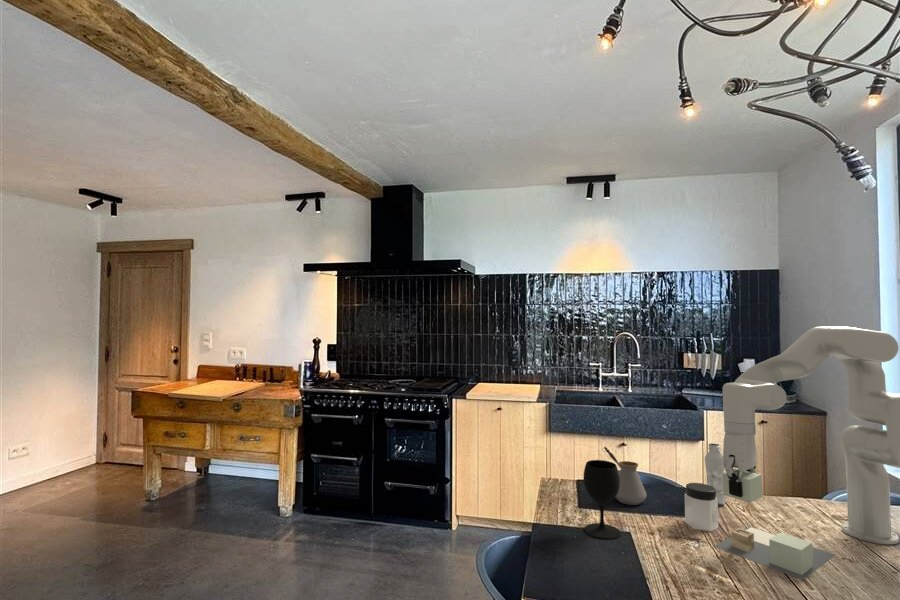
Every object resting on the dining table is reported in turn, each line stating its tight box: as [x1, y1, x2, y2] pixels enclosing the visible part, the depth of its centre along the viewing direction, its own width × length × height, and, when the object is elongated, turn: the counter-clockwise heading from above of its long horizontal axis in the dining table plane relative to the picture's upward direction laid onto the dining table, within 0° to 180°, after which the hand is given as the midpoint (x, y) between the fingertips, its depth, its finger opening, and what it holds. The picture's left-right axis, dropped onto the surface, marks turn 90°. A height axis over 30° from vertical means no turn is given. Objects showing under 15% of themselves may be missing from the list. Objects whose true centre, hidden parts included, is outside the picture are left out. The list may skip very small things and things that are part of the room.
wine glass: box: [583, 459, 621, 540], centre depth 141 cm, size 10×10×20 cm
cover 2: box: [769, 532, 813, 575], centre depth 120 cm, size 7×7×6 cm
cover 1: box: [722, 467, 763, 503], centre depth 131 cm, size 7×7×6 cm
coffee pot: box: [601, 446, 648, 506], centre depth 170 cm, size 21×12×15 cm, turn 13°
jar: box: [684, 482, 719, 532], centre depth 144 cm, size 9×8×12 cm
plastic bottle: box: [704, 443, 728, 506], centre depth 163 cm, size 6×7×20 cm
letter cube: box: [730, 527, 754, 552], centre depth 130 cm, size 4×4×4 cm
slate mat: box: [713, 526, 837, 581], centre depth 128 cm, size 22×21×1 cm
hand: (742, 491), depth 130 cm, fingers closed on cover 1, 7 cm apart
